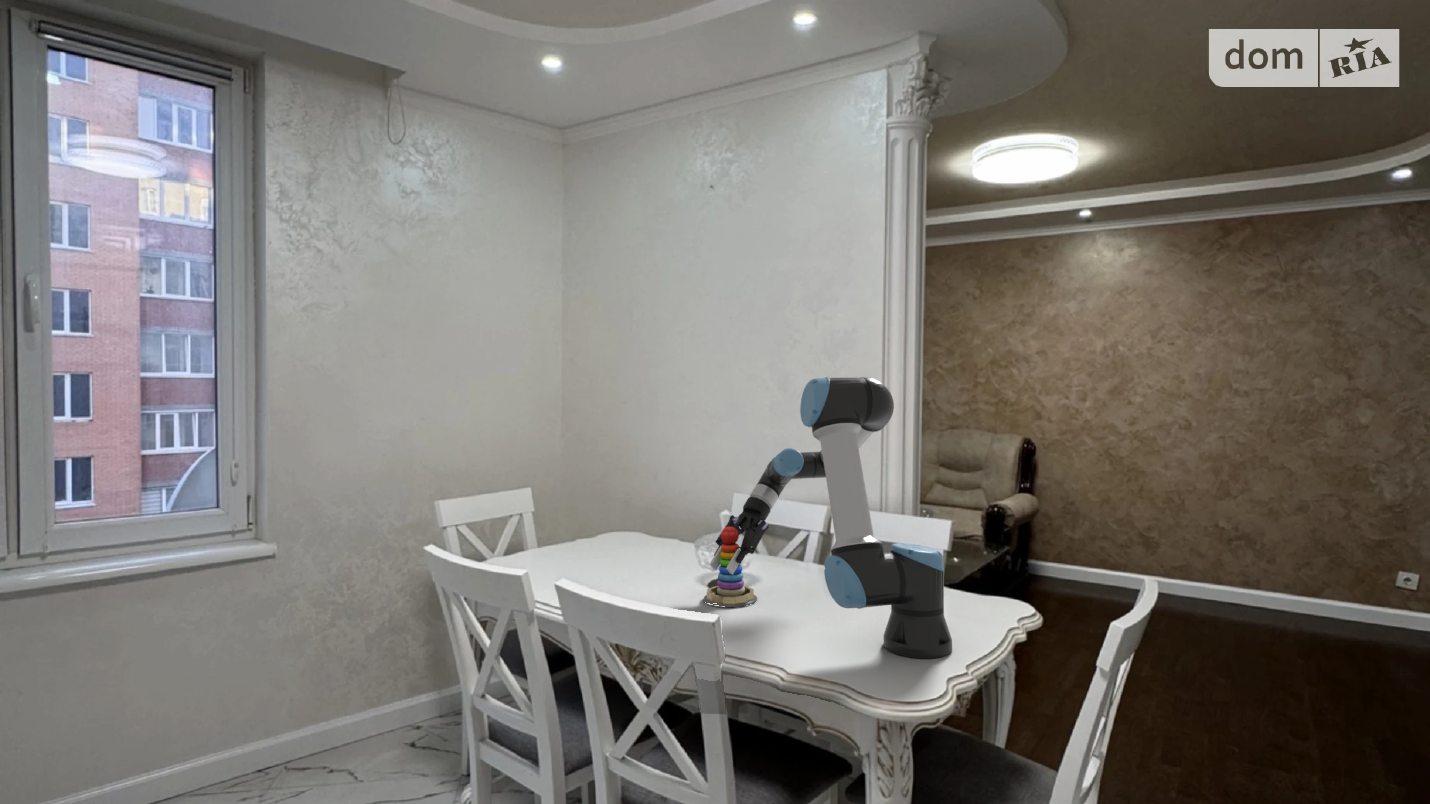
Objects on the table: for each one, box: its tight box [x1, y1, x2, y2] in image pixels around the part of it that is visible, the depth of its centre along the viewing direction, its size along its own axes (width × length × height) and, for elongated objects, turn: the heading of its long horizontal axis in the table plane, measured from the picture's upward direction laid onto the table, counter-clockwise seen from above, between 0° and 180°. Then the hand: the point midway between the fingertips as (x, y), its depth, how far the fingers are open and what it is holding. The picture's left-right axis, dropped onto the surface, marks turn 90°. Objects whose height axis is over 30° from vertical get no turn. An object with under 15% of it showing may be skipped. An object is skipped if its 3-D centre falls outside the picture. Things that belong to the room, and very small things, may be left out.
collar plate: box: [703, 585, 758, 608], centre depth 213 cm, size 15×15×3 cm
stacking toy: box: [716, 527, 745, 596], centre depth 212 cm, size 8×8×19 cm
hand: (721, 569), depth 210 cm, fingers closed on stacking toy, 6 cm apart
